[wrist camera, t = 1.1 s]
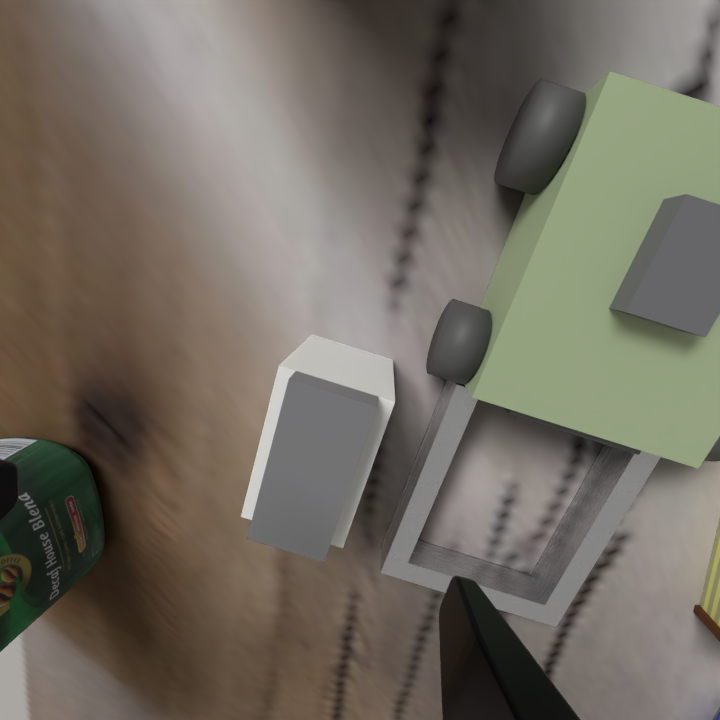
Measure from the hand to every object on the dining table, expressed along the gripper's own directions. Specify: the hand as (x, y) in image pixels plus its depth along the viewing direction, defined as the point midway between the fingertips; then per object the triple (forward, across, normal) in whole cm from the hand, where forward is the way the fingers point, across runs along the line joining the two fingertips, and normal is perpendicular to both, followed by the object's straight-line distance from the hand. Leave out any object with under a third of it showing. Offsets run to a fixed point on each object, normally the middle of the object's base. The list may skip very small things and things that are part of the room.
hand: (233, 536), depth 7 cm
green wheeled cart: (+12, -12, -7) cm, 19 cm away
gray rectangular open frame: (+12, -11, +4) cm, 17 cm away
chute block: (+13, -1, +2) cm, 13 cm away
